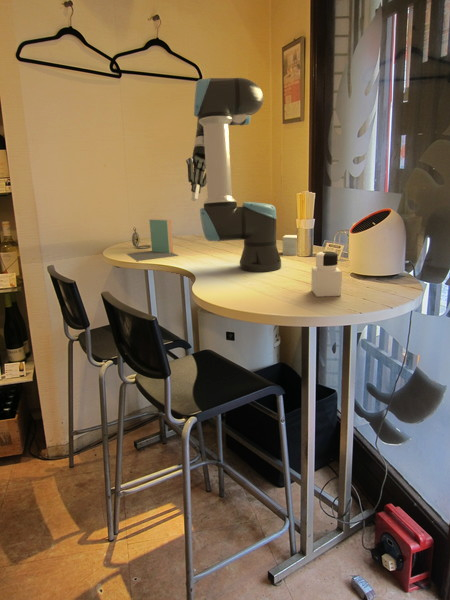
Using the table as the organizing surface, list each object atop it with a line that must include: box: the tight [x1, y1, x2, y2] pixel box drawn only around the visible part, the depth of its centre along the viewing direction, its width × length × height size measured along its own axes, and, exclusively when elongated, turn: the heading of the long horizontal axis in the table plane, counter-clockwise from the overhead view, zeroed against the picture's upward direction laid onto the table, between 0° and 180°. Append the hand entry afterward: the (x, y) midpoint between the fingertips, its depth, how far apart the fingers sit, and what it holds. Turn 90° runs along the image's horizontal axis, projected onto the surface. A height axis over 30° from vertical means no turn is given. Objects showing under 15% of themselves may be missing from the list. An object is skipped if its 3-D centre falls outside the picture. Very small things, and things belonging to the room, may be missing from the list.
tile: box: [149, 218, 174, 253], centre depth 204 cm, size 3×10×14 cm, turn 56°
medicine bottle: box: [310, 250, 343, 298], centre depth 134 cm, size 7×7×12 cm
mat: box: [126, 250, 180, 263], centre depth 200 cm, size 18×18×1 cm
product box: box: [282, 234, 298, 256], centre depth 192 cm, size 6×6×7 cm
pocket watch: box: [131, 226, 152, 250], centre depth 217 cm, size 8×8×10 cm
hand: (194, 199), depth 200 cm, fingers closed
